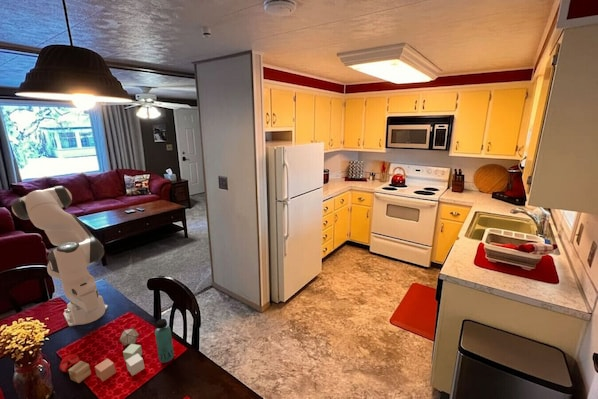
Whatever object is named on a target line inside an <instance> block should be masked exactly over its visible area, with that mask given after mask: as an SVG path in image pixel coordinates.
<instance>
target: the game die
mask: <svg viewBox="0 0 598 399" xmlns="http://www.w3.org/2000/svg"><path fill="white" fill-rule="evenodd" d="M135 327H136V326H134V327H133V328H129V329H123V328H122V333H121V335H120V338H119V339H118V340H117V342H121V344H122V345H123V348H125V347H126V346H127V347H128V346H129V345H130V344H136V343H137V339H138V337H139V335H141V332H138V331H137V330H136V329H135ZM136 345H137V344H136Z"/></svg>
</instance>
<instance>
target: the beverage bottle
mask: <svg viewBox="0 0 598 399" xmlns="http://www.w3.org/2000/svg"><path fill="white" fill-rule="evenodd" d="M154 335H155V342H156V349H157V357H158V360H159V361H160V362H161V363H168V362H170V361H172V360H173V358H174V356H175V353H174V352H175V351H174V349H175V348H174V343H173V339H172V338H173V336H172V331H171V327H170V326H169V325H168V322H167V319H165V318H161V319H158V320H157V321H156V329H155V331H154Z"/></svg>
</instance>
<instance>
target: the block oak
mask: <svg viewBox="0 0 598 399" xmlns="http://www.w3.org/2000/svg"><path fill="white" fill-rule="evenodd" d="M67 370H68V374H69V378H70V380H71V381H73V382H76V383H77V384H80V383H81V382H82V381H84V380H85V379H87V377H89V376H90V375H91V374H92V371H91V367H90V364H89V363H87V362H86V361H83V360H79V362H78V363H76V364H73V365H72V367H71V366H70V367H69V368H68V369H67Z"/></svg>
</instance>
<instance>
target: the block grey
mask: <svg viewBox="0 0 598 399" xmlns="http://www.w3.org/2000/svg"><path fill="white" fill-rule="evenodd" d="M125 364H126V370H127V371H128V372H129V374H130V375H131V377H133V376H134V375H137V374H138V373H140V372H141V371H143V370H144V369H146V368H145V363H144V359H143V357H142V355H141V356H140V355H139V354H138V353H137V354H136V355H134V356H132V357H130V358H129V359H127V360H126V361H125Z"/></svg>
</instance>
